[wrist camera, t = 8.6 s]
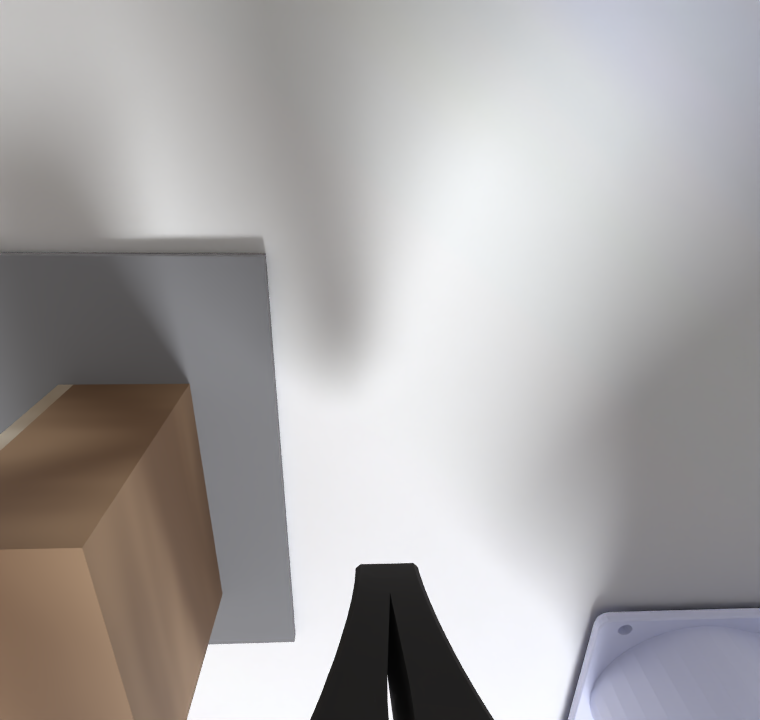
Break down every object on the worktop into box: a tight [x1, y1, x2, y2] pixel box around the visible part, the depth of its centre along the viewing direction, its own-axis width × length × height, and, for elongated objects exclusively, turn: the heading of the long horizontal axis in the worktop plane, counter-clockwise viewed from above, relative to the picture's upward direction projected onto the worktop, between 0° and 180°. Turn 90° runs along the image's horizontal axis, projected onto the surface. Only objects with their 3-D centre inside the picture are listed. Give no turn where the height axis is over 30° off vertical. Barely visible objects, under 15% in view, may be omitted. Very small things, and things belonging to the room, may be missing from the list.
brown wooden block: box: [0, 384, 223, 720], centre depth 13 cm, size 4×8×6 cm, turn 179°
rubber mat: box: [0, 253, 295, 644], centre depth 15 cm, size 14×14×1 cm
